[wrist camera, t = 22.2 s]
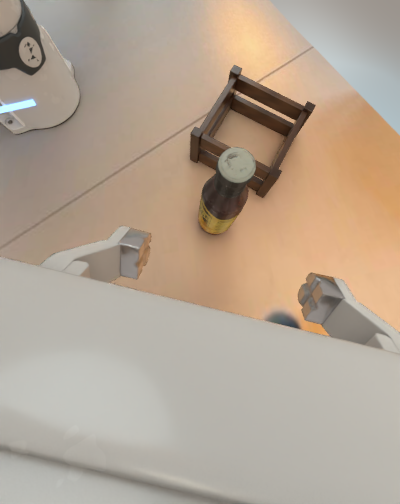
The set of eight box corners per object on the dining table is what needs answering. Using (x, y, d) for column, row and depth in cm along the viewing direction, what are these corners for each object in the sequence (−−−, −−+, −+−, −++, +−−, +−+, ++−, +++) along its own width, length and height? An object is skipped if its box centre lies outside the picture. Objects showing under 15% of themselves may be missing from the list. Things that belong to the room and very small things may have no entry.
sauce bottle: (199, 203, 43) (208, 127, 24) (231, 206, 44) (267, 134, 24) (196, 236, 42) (203, 185, 23) (230, 239, 42) (266, 192, 23)
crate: (189, 159, 45) (190, 133, 38) (227, 99, 48) (234, 64, 41) (263, 197, 44) (277, 178, 37) (296, 134, 47) (315, 105, 40)
